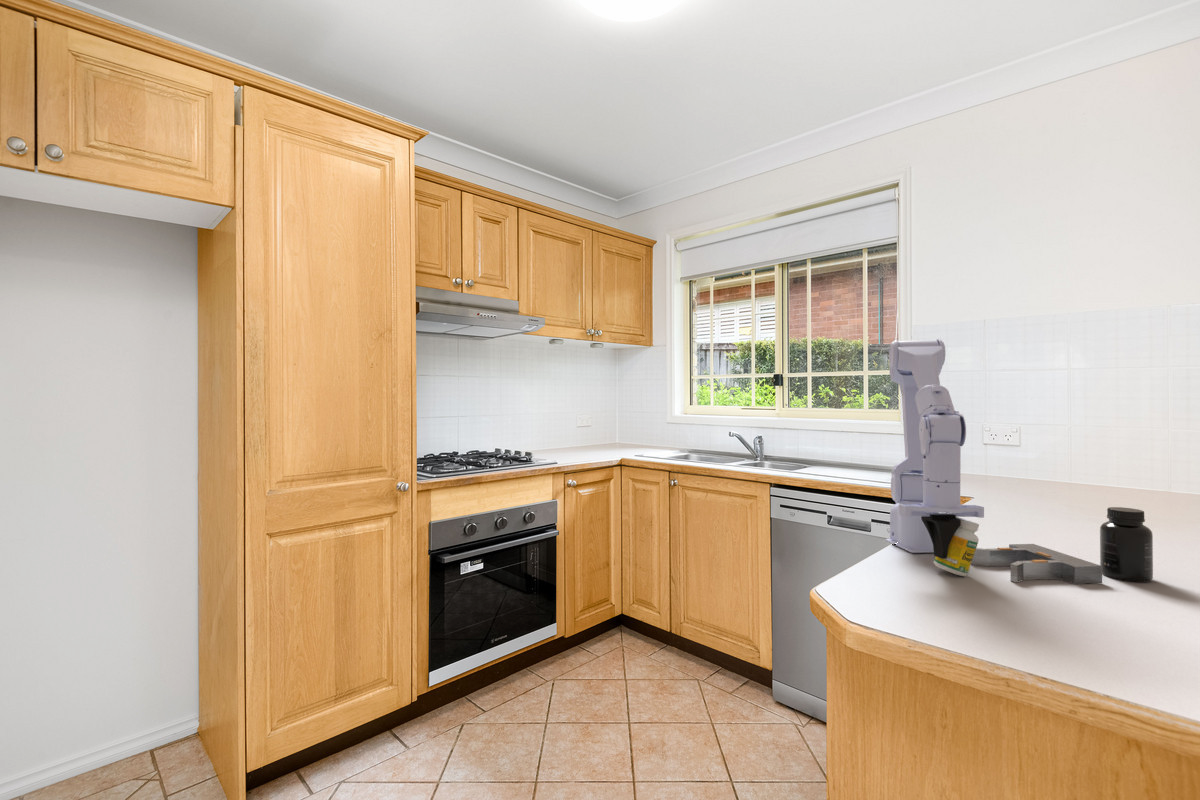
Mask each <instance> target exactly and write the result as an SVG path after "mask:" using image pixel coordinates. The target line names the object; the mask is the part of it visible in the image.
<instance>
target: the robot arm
mask: <svg viewBox="0 0 1200 800" xmlns="http://www.w3.org/2000/svg"><path fill="white" fill-rule="evenodd" d="M945 361H946V346H945V343H944V342H943V340H942V339H940V338H938V339H928V340H927V339H926V340H925V339H923V340H922V339H921V340H919V339H917V340H896V339H895V340H893V341H892V342H891V343H890V344H889V349H888V365H889V367H888V368H889V376H890V380H891V382H893V383H896V384H898V386H899V390H900V393H901V407H902V421H903V423H902V424H903V441H904V459H902V460H901V461H899V462H898V463H896V464H895V465H894V466H893V467H892V469H891V479H890V494H891V499H892V500H893V501H894V502H895V504H894V505H893V506H892V507H891V509H890V512H889V538H886V539H885V541H886V542H887V543H890V544H892V545H894V544H895V543H897V542H898V543H897V544H896V545H895V546H896V547H898V548H900V549H903V550H904V551H907V552H909V553H913V554H923V553H925V554H927V553H931V554H932V553H933V555H934V557H939V558H942V559H947V554H948V547H949V544H950V542H951V539H952V537H953V535H954V534H955V532H956V531H957V529H958V528H959V527H960V525H961V520H960V519H956V517H959V518H966V517H967V518H981V519H982V518H983V519H984V518H985V506H981V505H978V504H977V505H976V504H961V448H962V447H963V446H964V444H965V442H966V439H967V438H966V437H967V426H966V425H967V424H966V419H965V416H964V415H963V414H962V413H960V411H958V410H955V407H954V404H953V401H952V397H951V395H950V391H949V389H947V388H946V387H945V386H943V385H941V382H940V374H941V372H942V369H943V366H944V365H945Z"/></svg>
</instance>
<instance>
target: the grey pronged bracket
mask: <svg viewBox="0 0 1200 800" xmlns="http://www.w3.org/2000/svg"><path fill="white" fill-rule="evenodd" d="M971 565H972V566H973V565H974V566H982V567H1010V582H1012V581H1014V582H1013V583H1016V582H1018V583H1020V582H1022V581H1034V580H1033V579H1052V580H1062V579H1063V581H1064V582H1067V581H1068V582H1067V583H1070V582H1071V584H1073V583H1074V584H1073V585H1085V584H1084V583H1102V584H1103V573H1102V566H1100V564H1097V563H1095V562H1091V561H1088V560H1085V559H1083V558H1078V557H1075V556H1072V555H1069V554H1065V553H1063V552H1059V551H1057V550H1054V549H1051V548H1047V547H1044V546H1041V545H1038V544H1035V543H1019V544H1017V543H1016V544H1014V543H1013V544H1011V543H1010V544H1009V545H1008V547H997V548H982V547H981V548H980V547H976V550H975V553H974V556H973V559H972V562H971ZM1021 580H1022V581H1021ZM1019 581H1020V582H1019Z"/></svg>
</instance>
